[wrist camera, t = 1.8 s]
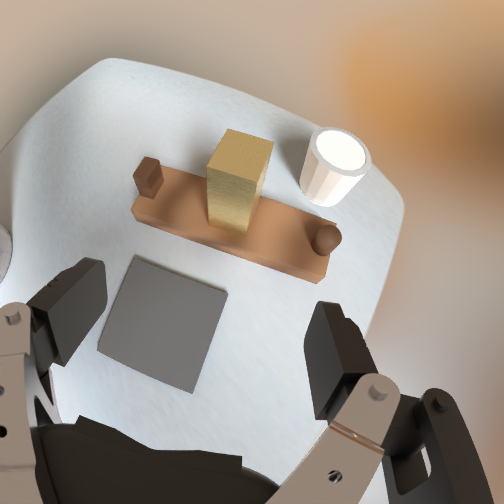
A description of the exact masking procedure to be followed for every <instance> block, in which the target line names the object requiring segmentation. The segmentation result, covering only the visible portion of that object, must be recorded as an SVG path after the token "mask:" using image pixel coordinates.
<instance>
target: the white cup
mask: <svg viewBox="0 0 504 504" xmlns="http://www.w3.org/2000/svg"><path fill="white" fill-rule="evenodd" d="M370 167H371V157H370V154H369V151H368V149H367V148H366V146H365V145H364V144H363V142H361V140H360V139H358V138H357V137H356V136H354V135H353V134H352V133H350V132H348V131H345V130H343V129H340V128H335V127H324V128H319V129H318V130H317V131H315V132H314V133H313V134H312V136H311V139H310V143H309V146H308V150H307V154H306V158H305V162H304V165H303V169H302V173H301V176H300V180H299V183H300V189H301V191H302V192H303V194H304V196H305V197H306V198H308V199H309V200H310V201H311V202H313V203H315V204H318V205H320V206H332V205H335V204H337V203H338V202H339V201H340V200H341V199H342V198H343V197H344V196H345V195H346V194H347V193H348V191H349V190H350V189H351V188H352V187H353V186H354V185H355V184H356V183H357V182H358V181H359V180H360V179H361V178H362V177H363V175H364V174H365V173H366V172H367V171H368V170H369V168H370Z"/></svg>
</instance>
